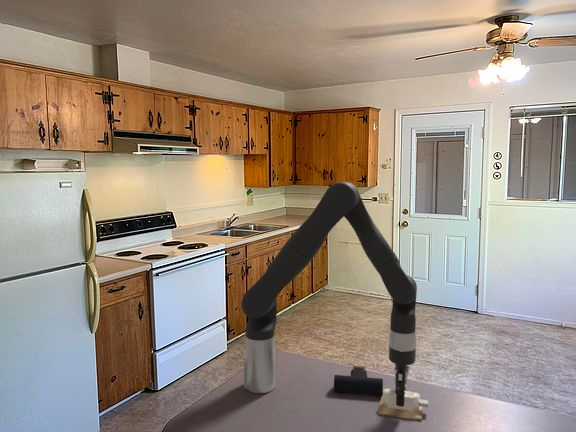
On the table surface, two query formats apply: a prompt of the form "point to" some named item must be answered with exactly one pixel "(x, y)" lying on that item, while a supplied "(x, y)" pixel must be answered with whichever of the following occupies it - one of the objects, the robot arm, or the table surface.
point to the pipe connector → (358, 383)
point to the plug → (410, 400)
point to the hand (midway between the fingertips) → (401, 398)
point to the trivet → (400, 412)
